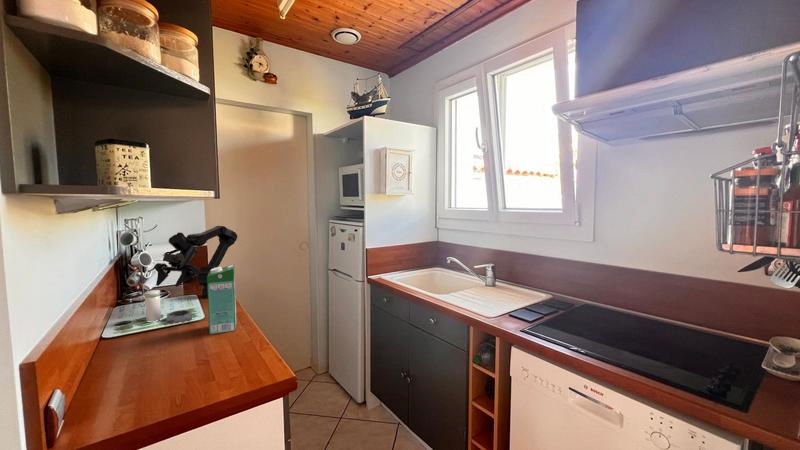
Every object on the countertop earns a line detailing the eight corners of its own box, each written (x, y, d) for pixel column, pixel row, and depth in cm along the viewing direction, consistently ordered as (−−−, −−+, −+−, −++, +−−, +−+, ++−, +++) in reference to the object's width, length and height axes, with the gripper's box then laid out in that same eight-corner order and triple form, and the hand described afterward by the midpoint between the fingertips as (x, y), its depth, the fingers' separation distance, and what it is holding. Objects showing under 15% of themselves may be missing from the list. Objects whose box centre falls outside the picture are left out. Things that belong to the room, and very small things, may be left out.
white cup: (161, 317, 141) (160, 289, 140) (160, 321, 137) (159, 292, 136) (147, 319, 138) (145, 290, 137) (145, 323, 134) (144, 294, 133)
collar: (191, 314, 145) (191, 308, 145) (191, 320, 138) (191, 314, 138) (167, 318, 140) (166, 312, 140) (165, 325, 133) (165, 318, 133)
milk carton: (211, 325, 133) (209, 265, 131) (236, 322, 136) (234, 263, 134) (209, 334, 125) (206, 270, 122) (235, 330, 128) (233, 268, 126)
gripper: (156, 245, 148) (134, 275, 138) (193, 247, 146) (174, 277, 136) (170, 259, 157) (152, 288, 147) (206, 261, 155) (189, 290, 145)
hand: (166, 285), depth 143 cm, fingers open, 9 cm apart
